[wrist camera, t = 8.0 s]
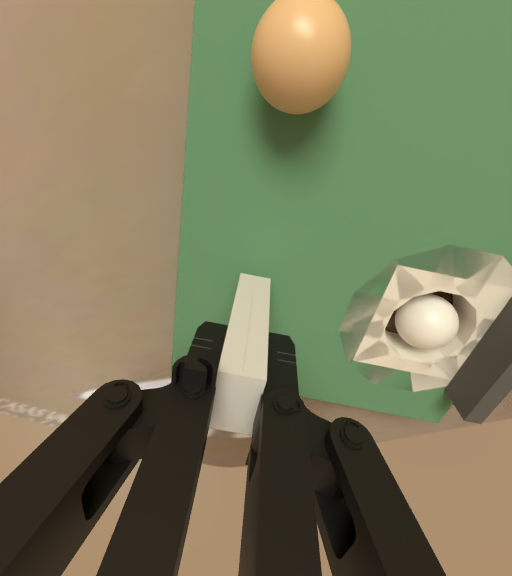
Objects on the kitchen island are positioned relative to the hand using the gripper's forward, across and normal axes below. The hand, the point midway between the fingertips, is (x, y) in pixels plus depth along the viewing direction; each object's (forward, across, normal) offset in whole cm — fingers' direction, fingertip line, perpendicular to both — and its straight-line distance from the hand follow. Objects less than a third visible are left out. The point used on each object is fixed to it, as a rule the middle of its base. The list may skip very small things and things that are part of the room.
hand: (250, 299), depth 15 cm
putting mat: (+3, +5, +3) cm, 7 cm away
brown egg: (-1, 0, +10) cm, 10 cm away
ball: (+2, +10, 0) cm, 10 cm away
